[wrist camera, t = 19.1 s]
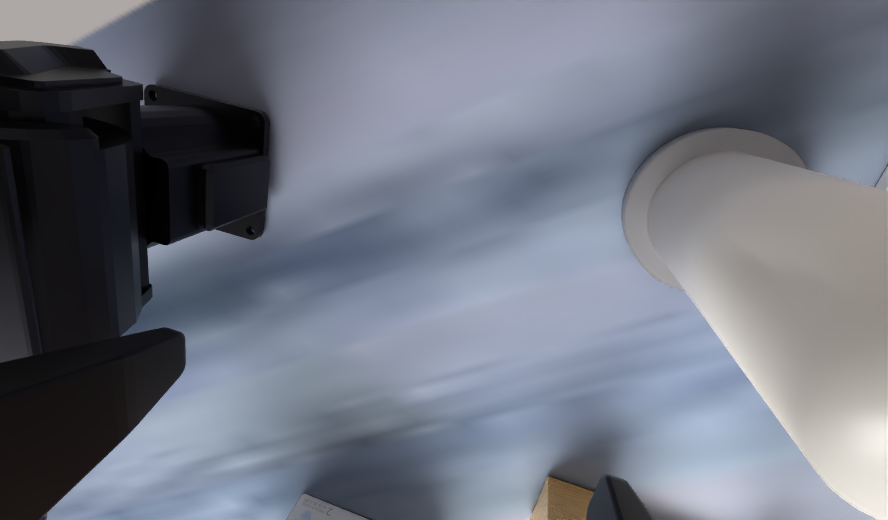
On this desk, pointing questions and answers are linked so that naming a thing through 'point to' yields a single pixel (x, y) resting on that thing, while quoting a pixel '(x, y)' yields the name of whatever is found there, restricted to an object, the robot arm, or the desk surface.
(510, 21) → the desk surface
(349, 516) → the light bulb box
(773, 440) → the desk surface
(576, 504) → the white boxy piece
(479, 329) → the desk surface
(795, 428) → the white cylinder
